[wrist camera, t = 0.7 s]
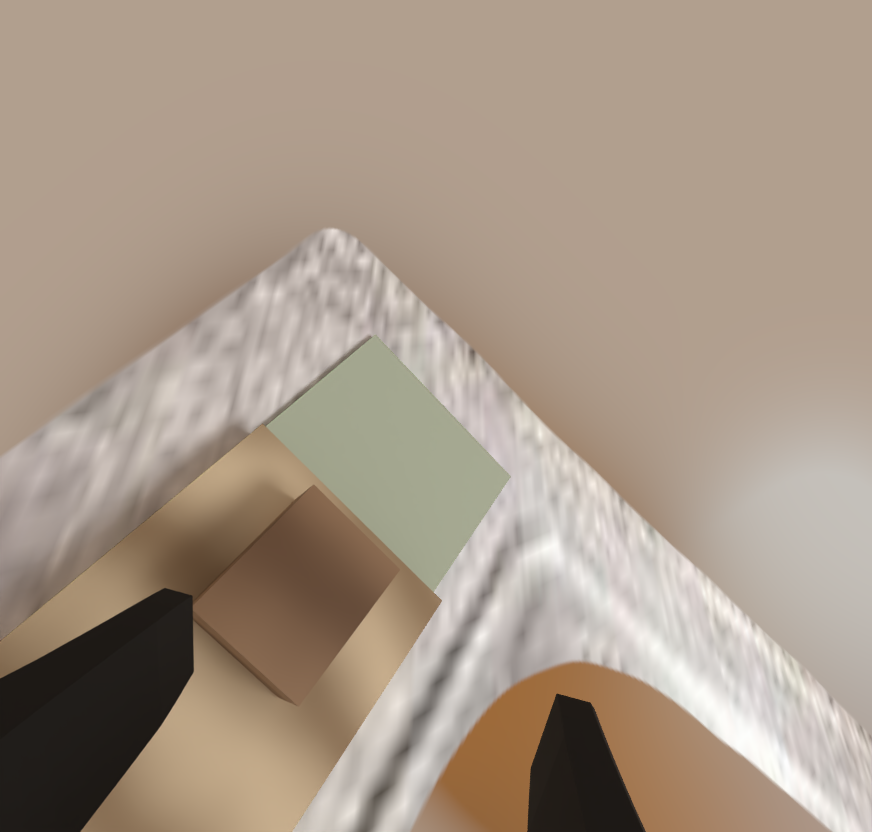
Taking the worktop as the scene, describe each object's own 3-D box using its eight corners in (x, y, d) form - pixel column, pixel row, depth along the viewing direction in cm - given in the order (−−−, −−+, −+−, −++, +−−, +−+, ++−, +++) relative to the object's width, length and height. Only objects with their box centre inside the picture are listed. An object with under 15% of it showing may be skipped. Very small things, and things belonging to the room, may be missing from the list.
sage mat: (426, 597, 26) (429, 597, 26) (258, 433, 25) (260, 430, 25) (506, 478, 32) (510, 476, 31) (372, 337, 30) (375, 334, 30)
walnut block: (278, 697, 20) (298, 706, 17) (183, 610, 19) (190, 608, 17) (372, 575, 23) (400, 569, 21) (294, 499, 23) (313, 484, 20)
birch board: (203, 927, 18) (210, 956, 16) (-66, 705, 17) (-88, 713, 15) (422, 602, 26) (441, 600, 24) (254, 437, 25) (262, 423, 23)
